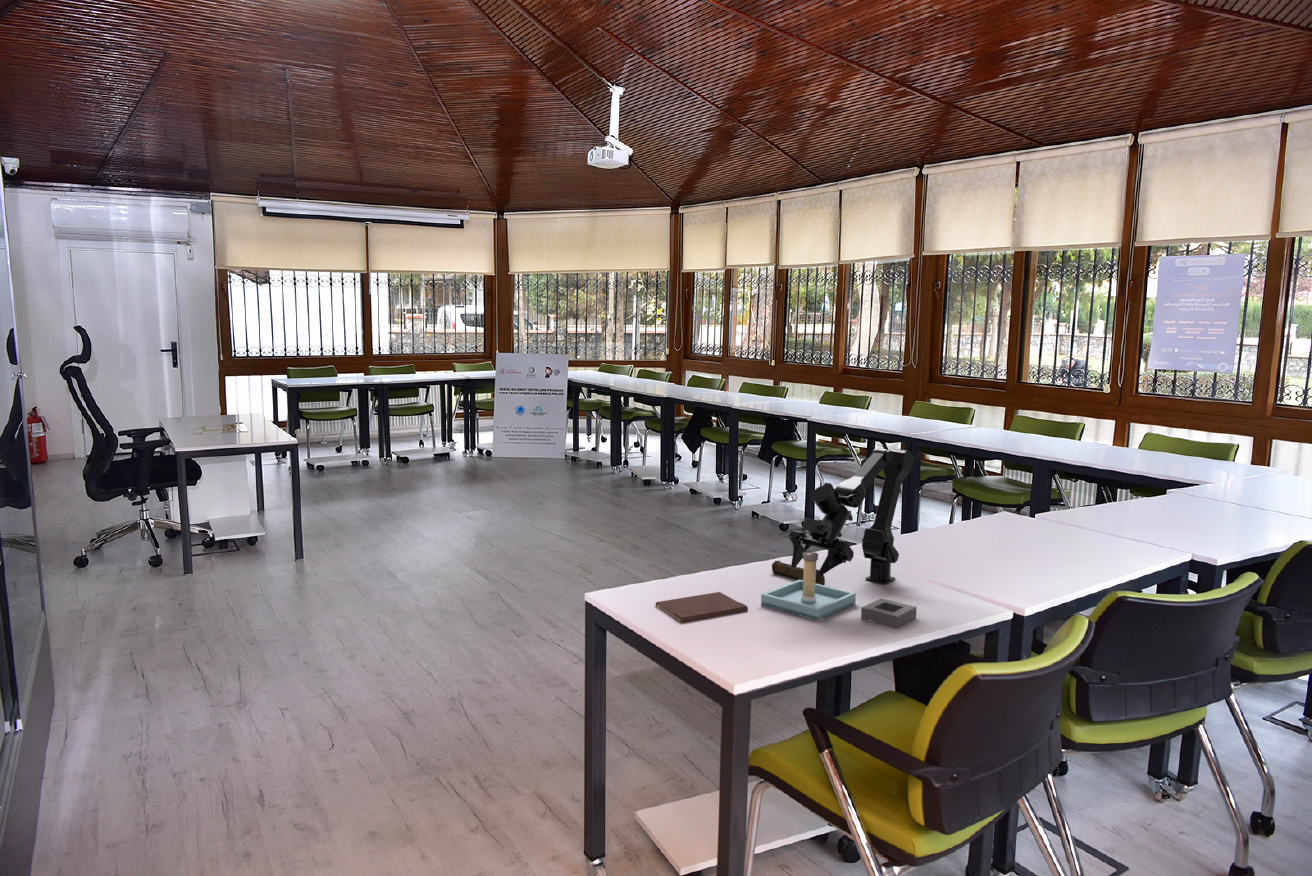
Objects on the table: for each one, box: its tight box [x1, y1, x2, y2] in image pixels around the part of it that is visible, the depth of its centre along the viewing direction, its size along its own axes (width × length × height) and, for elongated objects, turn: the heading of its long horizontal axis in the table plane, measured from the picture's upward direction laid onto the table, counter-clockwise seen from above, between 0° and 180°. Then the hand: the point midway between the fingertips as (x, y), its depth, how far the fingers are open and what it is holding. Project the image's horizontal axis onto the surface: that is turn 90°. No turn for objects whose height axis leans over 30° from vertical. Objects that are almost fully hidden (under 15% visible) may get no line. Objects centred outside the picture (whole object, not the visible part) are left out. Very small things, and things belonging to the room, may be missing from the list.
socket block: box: [860, 597, 918, 629], centre depth 212 cm, size 10×10×3 cm
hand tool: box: [771, 560, 826, 586], centre depth 245 cm, size 19×4×5 cm, turn 37°
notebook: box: [655, 591, 749, 624], centre depth 221 cm, size 15×20×2 cm
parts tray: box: [760, 579, 857, 621], centre depth 223 cm, size 18×18×3 cm
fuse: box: [801, 551, 819, 603], centre depth 222 cm, size 4×4×13 cm
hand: (805, 571), depth 221 cm, fingers open, 9 cm apart
